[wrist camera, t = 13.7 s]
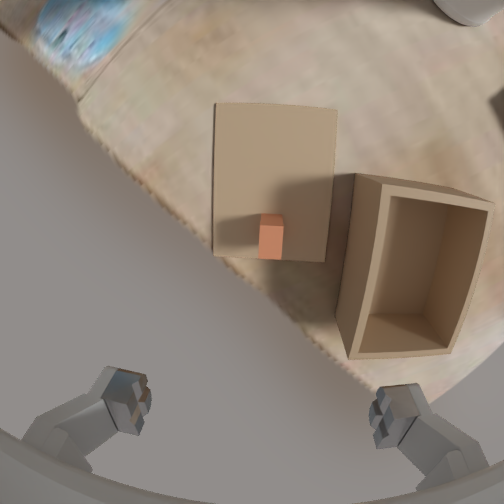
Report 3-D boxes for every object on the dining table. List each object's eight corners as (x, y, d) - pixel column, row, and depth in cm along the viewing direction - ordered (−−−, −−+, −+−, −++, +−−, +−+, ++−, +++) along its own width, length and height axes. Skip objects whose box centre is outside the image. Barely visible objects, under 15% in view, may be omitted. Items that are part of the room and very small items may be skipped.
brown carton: (355, 173, 28) (382, 183, 20) (452, 188, 27) (495, 203, 20) (334, 315, 33) (348, 359, 26) (423, 315, 33) (450, 353, 25)
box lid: (217, 103, 27) (206, 95, 22) (335, 110, 26) (348, 104, 22) (214, 253, 32) (204, 273, 27) (323, 259, 32) (331, 280, 27)
